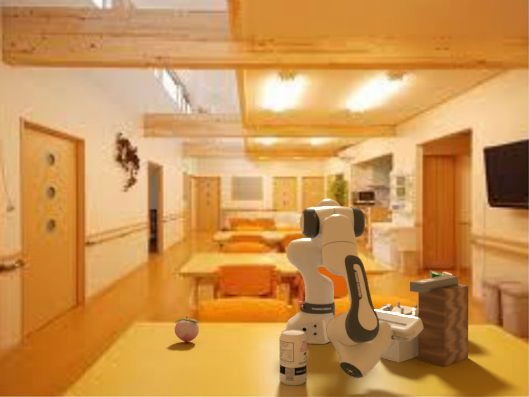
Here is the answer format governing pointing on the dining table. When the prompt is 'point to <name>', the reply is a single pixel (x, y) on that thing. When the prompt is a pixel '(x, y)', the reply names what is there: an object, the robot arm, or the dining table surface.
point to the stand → (443, 325)
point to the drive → (433, 283)
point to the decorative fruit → (186, 329)
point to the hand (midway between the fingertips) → (403, 307)
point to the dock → (399, 348)
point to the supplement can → (293, 357)
